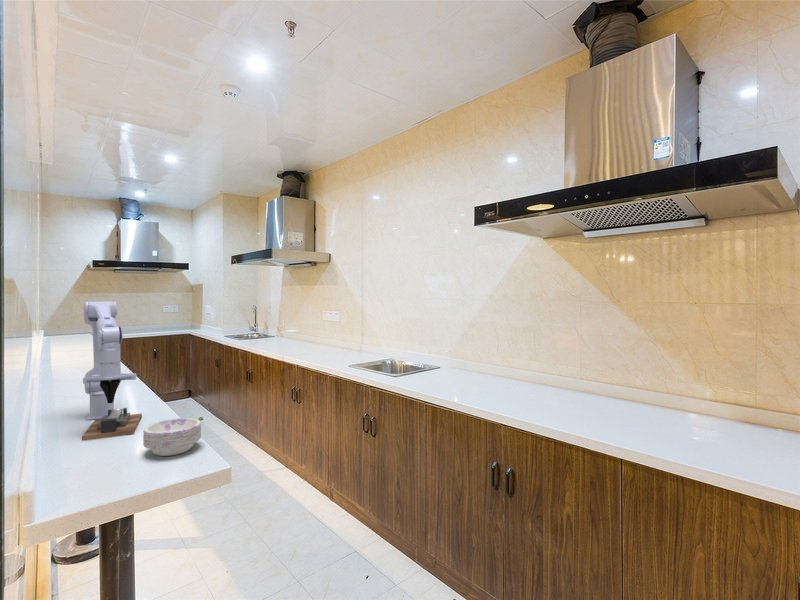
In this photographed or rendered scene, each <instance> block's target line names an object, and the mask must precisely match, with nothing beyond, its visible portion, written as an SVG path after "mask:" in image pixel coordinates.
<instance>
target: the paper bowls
mask: <svg viewBox="0 0 800 600" xmlns="http://www.w3.org/2000/svg"><path fill="white" fill-rule="evenodd" d="M198 419H199V418H191V417H179V418H170V419H164V420H161V421H160V420H159V421H156V422H153V423H151V424H148V425H147V426H145V427H144V428H143V437H142V439H143V440H142V441H143V444H142V445H143V447H144V448H146V449H150V450H151V452H152V453H153V454H154V455H156V456H159V457H171V456H177V455H181V454H183V453H186V452H187V451H189V450H190V449H192V448H193V445H194V444H195V443H196V442H198V441H199V440H200V439H201V437H202V422H201V421H200V420H198Z"/></svg>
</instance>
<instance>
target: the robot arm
mask: <svg viewBox="0 0 800 600" xmlns="http://www.w3.org/2000/svg"><path fill="white" fill-rule="evenodd" d="M117 314H118V305H117V302H116V301H115V300H111V301H109V300H108V301H88V300H87V301H85V302H84V303H83V317H84V319H83V320H84V323H85V324H87V325H90V327H91V329H92V348H93V350H92V352H93V368H92V369H89V371H87V372H86V373H85V375H84V377H82V384H83V385H84V392H85V394H87V395H89V415H88V417H87V418H85V419H86V421H89V420H90V421H91V420H96V419H97V418H102V417H103V416H105V415H108V410H110V409H112V410H115V408H114V407H115V406H114V405H115V404H114V403H115V397H116V393H117V390H118V388H119V385H120V384H121V382H122V381H129V380H132V381H136V380H137V373H135V372H134V373H133V372H131V373H130V372H129V373H122V372H121V365H122V363H121V361H122V360H121V357H122V356H121V344H122V341H123V336H124V335H123V330H122V329H123V328H122V326H121V325H118V323H117V320H116V318H117V316H118V315H117Z"/></svg>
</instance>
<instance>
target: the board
mask: <svg viewBox="0 0 800 600" xmlns="http://www.w3.org/2000/svg"><path fill="white" fill-rule="evenodd" d="M142 418H143V413H135V414H130V420H129V421H128V423H127V425H126V426H125V427H118V428H117V430H116V432H109V433H101V430H97V423H98V422H99V421H100V419H101V418H97V419H94V421H93V422H92V423H91V424H90V425H89V427H87V429H86V431H85V432H84V433H82V435H81V442H84V441H92V440H99V439H100V440H101V439H108V438H116V437H122V436H123V437H124V436H130V435H134V434H135V432H136V430H137V428H138V426H139V423H140V422H141V420H142Z"/></svg>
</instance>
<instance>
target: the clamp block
mask: <svg viewBox="0 0 800 600" xmlns="http://www.w3.org/2000/svg"><path fill="white" fill-rule="evenodd" d="M122 409H123V412H122V414H121V416H120V417H119V419H118V420H117V418H112V419H107V418H108V417H109V416H110V414H111V413H112V409H110V410H108V415H105V416H103V417H102V418H101V419H100V421H99V422H98V423H97V430H101V433H109V432H116V430H117V428H118V427H125V426H126V425H127V423H128V421H129V420H130V415H131V413H130V412H128V407H123V408H122Z"/></svg>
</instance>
